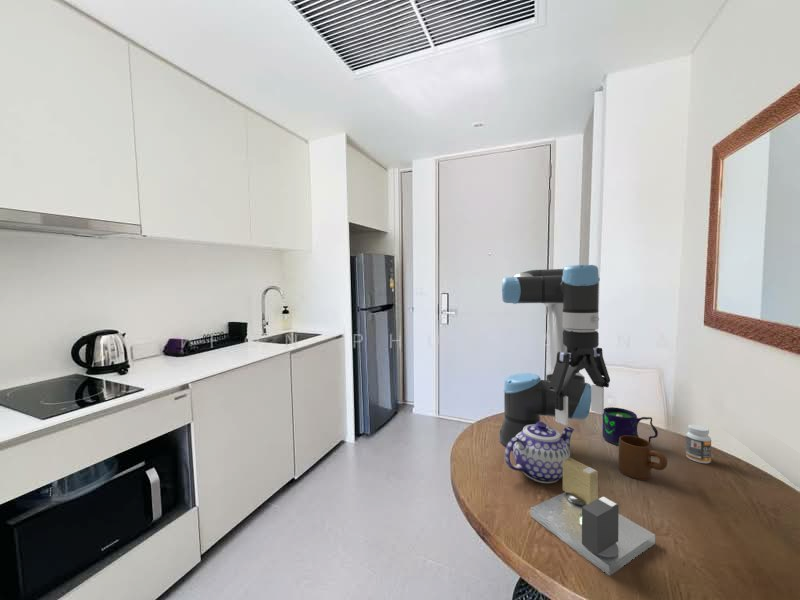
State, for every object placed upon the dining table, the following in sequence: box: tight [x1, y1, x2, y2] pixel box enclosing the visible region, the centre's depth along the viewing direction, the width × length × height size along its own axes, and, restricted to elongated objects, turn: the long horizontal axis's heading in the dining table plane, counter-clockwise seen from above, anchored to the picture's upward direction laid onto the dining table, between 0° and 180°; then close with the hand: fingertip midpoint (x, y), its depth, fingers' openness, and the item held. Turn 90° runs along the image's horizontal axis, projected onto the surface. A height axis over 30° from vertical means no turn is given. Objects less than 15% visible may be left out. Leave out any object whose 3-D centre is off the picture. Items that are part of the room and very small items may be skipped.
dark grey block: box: [582, 495, 620, 558], centre depth 64 cm, size 7×6×8 cm
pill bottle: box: [685, 423, 712, 464], centre depth 99 cm, size 6×6×10 cm
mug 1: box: [602, 406, 659, 446], centre depth 110 cm, size 15×10×10 cm, turn 49°
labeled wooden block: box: [562, 457, 599, 506], centre depth 79 cm, size 7×6×8 cm
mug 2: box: [618, 435, 668, 481], centre depth 90 cm, size 12×8×9 cm, turn 21°
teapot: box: [504, 421, 575, 484], centre depth 93 cm, size 25×15×15 cm, turn 109°
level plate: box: [529, 491, 656, 577], centre depth 72 cm, size 18×16×3 cm
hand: (580, 417), depth 78 cm, fingers open, 13 cm apart
